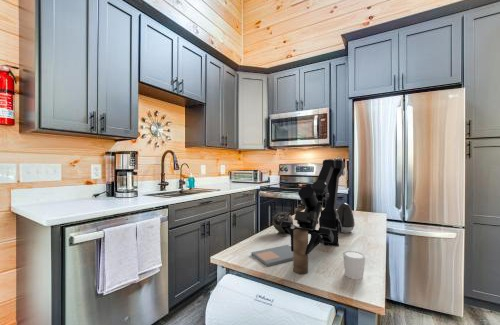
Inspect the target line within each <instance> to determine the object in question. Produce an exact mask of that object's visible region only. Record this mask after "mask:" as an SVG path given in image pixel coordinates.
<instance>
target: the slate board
mask: <svg viewBox="0 0 500 325" xmlns="http://www.w3.org/2000/svg"><path fill="white" fill-rule="evenodd" d="M250 253H251V256H252V257H254V258H255V259H257V260H258V261H259V262H261V263H262V264H264V265H265V266H266V267H270V266H274V265H279V264H282V263H287V262H290V261H293V252H292V251H291V245H289V244H283V245H280V246H275V247H270V248H266V249H261V250H256V251H252V252H250Z"/></svg>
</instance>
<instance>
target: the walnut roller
mask: <svg viewBox="0 0 500 325" xmlns="http://www.w3.org/2000/svg"><path fill="white" fill-rule="evenodd" d="M308 244H309V234H308V231H307V230H305V229H295V230H293V260H292V261H293V265H292V266H293V268H292V270H293V272H294V273H295V274H297V275H307V274H308V272H309V254H308V255H306V249H307V247H308Z"/></svg>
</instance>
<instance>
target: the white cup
mask: <svg viewBox="0 0 500 325" xmlns="http://www.w3.org/2000/svg"><path fill="white" fill-rule="evenodd" d="M342 256H343V265H344V276H346V277H347V278H349V279H352V280H362V279H363V278H364V272H365V264H366V255H365V254H364V253H362V252H359V251H354V250H353V251H352V250H346V251H344V252H343V255H342Z"/></svg>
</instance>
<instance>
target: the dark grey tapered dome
mask: <svg viewBox="0 0 500 325" xmlns="http://www.w3.org/2000/svg"><path fill="white" fill-rule="evenodd" d="M336 210H337V213H338V215H339V220H340V222H341V225H342V232H341V233H343V234H344V233H345V234H347V233H350V232H352V231H353V230H354V228H355V225H356V224H355V217H354V213H353V210H352V208H351V206H350V204H348V203H347V202H342V203H340V204H339V205H338V206H337V207H336Z"/></svg>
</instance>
